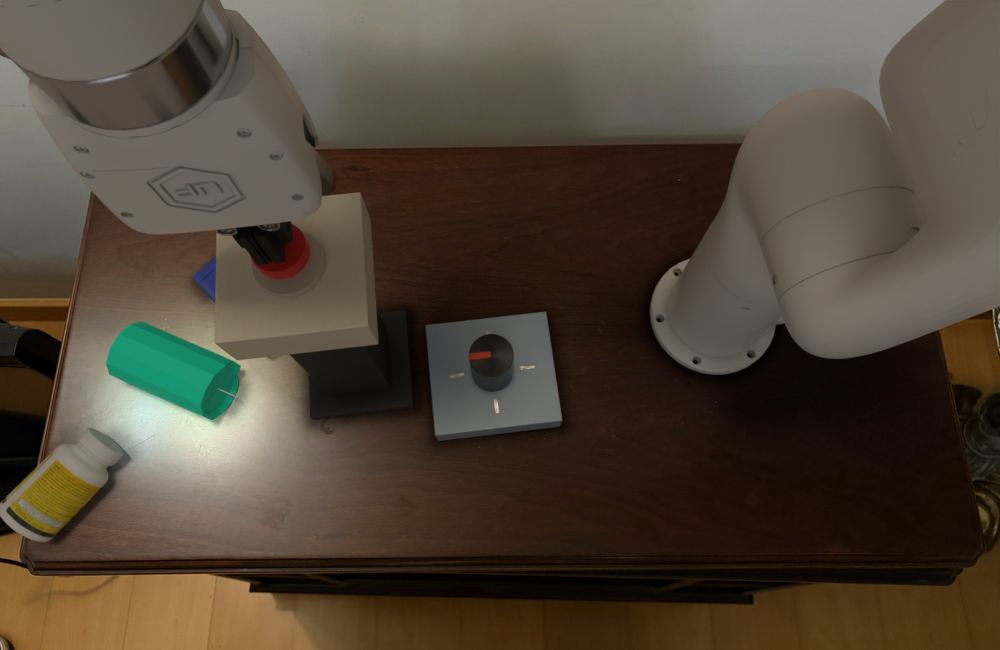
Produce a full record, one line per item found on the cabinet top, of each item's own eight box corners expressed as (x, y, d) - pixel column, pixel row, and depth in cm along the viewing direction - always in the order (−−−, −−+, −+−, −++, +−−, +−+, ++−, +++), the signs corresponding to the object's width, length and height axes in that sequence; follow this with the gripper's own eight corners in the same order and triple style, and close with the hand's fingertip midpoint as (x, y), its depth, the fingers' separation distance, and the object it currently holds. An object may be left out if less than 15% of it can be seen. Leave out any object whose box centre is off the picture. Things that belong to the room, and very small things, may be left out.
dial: (510, 349, 69) (510, 330, 63) (515, 389, 67) (516, 373, 62) (469, 354, 68) (466, 335, 63) (473, 394, 67) (470, 378, 62)
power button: (309, 226, 47) (304, 218, 46) (311, 276, 46) (306, 269, 44) (254, 232, 47) (248, 224, 45) (255, 282, 45) (248, 275, 44)
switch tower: (407, 313, 73) (358, 187, 49) (414, 408, 70) (366, 323, 46) (310, 324, 73) (213, 202, 49) (313, 420, 69) (210, 340, 45)
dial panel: (544, 321, 73) (546, 310, 70) (560, 426, 69) (562, 420, 66) (428, 334, 72) (425, 324, 69) (437, 441, 69) (434, 435, 66)
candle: (136, 378, 72) (239, 424, 70) (96, 378, 66) (208, 428, 64) (159, 324, 72) (263, 368, 70) (122, 318, 66) (234, 366, 64)
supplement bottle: (56, 551, 64) (138, 467, 66) (2, 530, 60) (91, 441, 62) (40, 519, 68) (118, 439, 70) (-11, 497, 64) (73, 413, 66)
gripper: (-90, 136, 26) (149, 311, 43) (325, 95, 26) (395, 284, 43) (-61, -25, 28) (154, 202, 45) (318, -60, 29) (387, 178, 46)
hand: (272, 242), depth 44 cm, fingers closed
